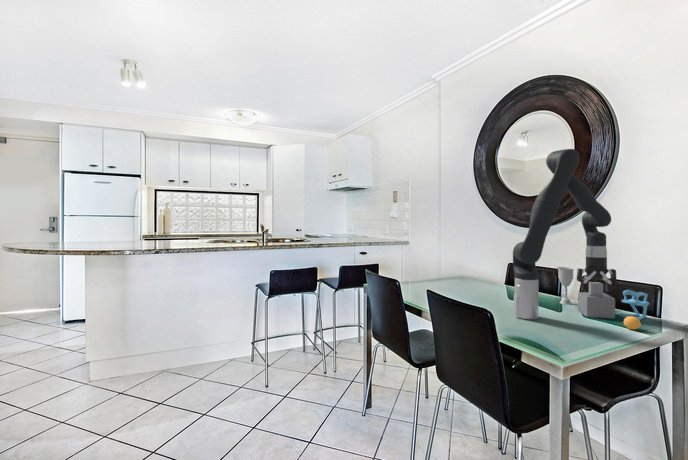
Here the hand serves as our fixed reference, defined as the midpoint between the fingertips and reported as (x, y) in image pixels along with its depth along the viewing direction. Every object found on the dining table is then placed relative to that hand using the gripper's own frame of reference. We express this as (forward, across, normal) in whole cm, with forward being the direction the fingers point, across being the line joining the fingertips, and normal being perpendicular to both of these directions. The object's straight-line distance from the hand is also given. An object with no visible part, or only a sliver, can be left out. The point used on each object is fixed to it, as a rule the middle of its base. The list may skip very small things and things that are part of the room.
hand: (596, 291), depth 146 cm
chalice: (+10, -6, +19) cm, 23 cm away
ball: (+8, +5, -19) cm, 21 cm away
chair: (+11, +14, -1) cm, 17 cm away
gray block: (+10, 0, 0) cm, 10 cm away
